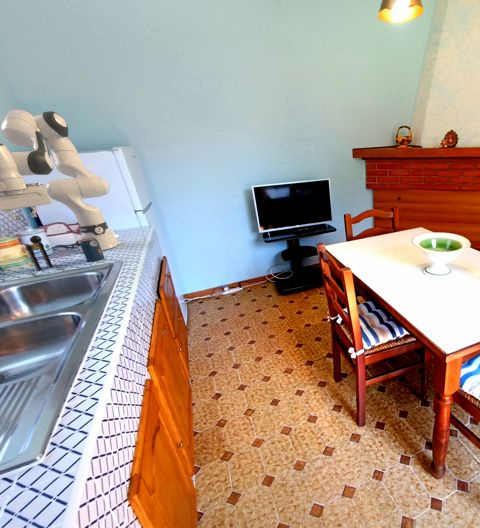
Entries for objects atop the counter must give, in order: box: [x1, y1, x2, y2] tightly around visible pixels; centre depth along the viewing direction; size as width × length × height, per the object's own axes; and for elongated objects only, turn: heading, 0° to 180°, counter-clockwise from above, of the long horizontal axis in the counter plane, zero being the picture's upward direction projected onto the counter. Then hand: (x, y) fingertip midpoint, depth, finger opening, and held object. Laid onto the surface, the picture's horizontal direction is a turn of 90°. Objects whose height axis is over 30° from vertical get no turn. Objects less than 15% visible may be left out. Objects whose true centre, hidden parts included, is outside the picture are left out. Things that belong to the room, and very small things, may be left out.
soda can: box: [80, 238, 106, 263], centre depth 148 cm, size 7×7×12 cm
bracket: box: [23, 241, 54, 272], centre depth 140 cm, size 12×9×14 cm
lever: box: [29, 235, 42, 252], centre depth 135 cm, size 13×4×4 cm, turn 57°
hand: (25, 218), depth 128 cm, fingers open, 4 cm apart
